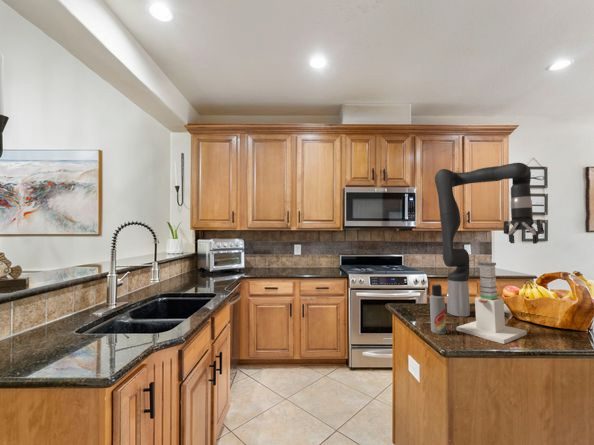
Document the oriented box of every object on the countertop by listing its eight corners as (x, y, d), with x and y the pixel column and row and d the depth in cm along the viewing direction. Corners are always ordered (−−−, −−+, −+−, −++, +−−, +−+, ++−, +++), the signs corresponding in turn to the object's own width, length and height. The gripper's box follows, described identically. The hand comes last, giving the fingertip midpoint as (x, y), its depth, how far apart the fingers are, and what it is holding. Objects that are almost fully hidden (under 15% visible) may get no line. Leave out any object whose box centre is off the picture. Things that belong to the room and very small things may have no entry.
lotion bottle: (448, 334, 117) (445, 285, 118) (433, 334, 118) (431, 285, 119) (443, 330, 123) (441, 283, 123) (429, 329, 124) (427, 283, 125)
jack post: (480, 310, 120) (478, 262, 120) (486, 308, 122) (484, 261, 123) (492, 313, 116) (490, 263, 116) (498, 311, 118) (496, 262, 119)
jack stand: (456, 330, 122) (455, 297, 122) (479, 322, 131) (478, 292, 131) (504, 344, 106) (502, 306, 107) (526, 334, 115) (524, 299, 116)
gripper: (544, 206, 124) (546, 243, 123) (507, 209, 136) (509, 242, 136) (536, 205, 120) (539, 244, 120) (499, 208, 133) (501, 243, 132)
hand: (523, 243), depth 128 cm, fingers open, 8 cm apart
